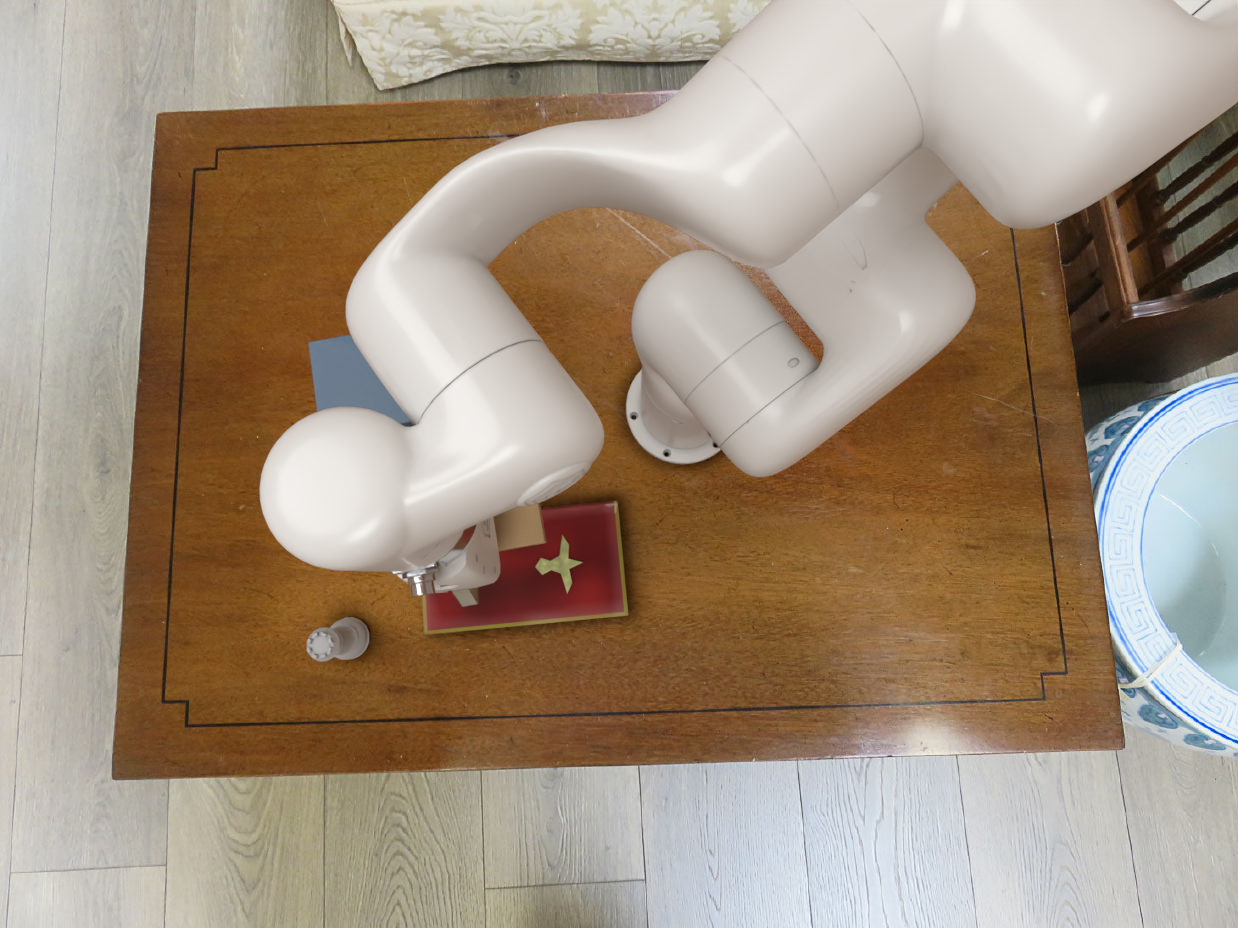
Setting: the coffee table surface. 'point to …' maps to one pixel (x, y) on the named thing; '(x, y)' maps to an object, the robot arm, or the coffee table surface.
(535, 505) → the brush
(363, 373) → the stand
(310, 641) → the rook chess piece
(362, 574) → the coffee table surface
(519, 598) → the hardcover book
